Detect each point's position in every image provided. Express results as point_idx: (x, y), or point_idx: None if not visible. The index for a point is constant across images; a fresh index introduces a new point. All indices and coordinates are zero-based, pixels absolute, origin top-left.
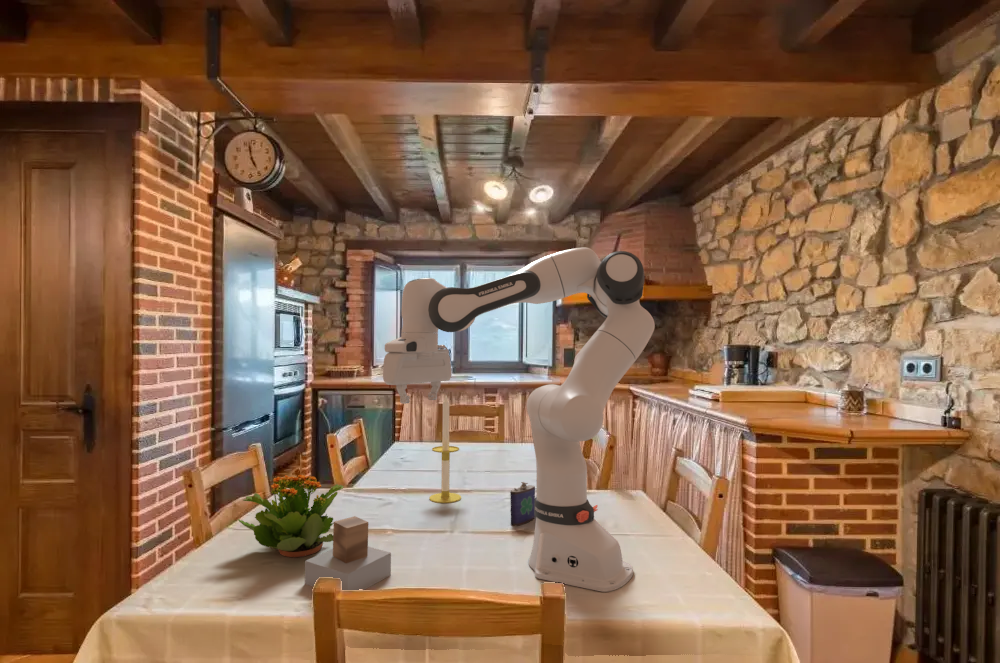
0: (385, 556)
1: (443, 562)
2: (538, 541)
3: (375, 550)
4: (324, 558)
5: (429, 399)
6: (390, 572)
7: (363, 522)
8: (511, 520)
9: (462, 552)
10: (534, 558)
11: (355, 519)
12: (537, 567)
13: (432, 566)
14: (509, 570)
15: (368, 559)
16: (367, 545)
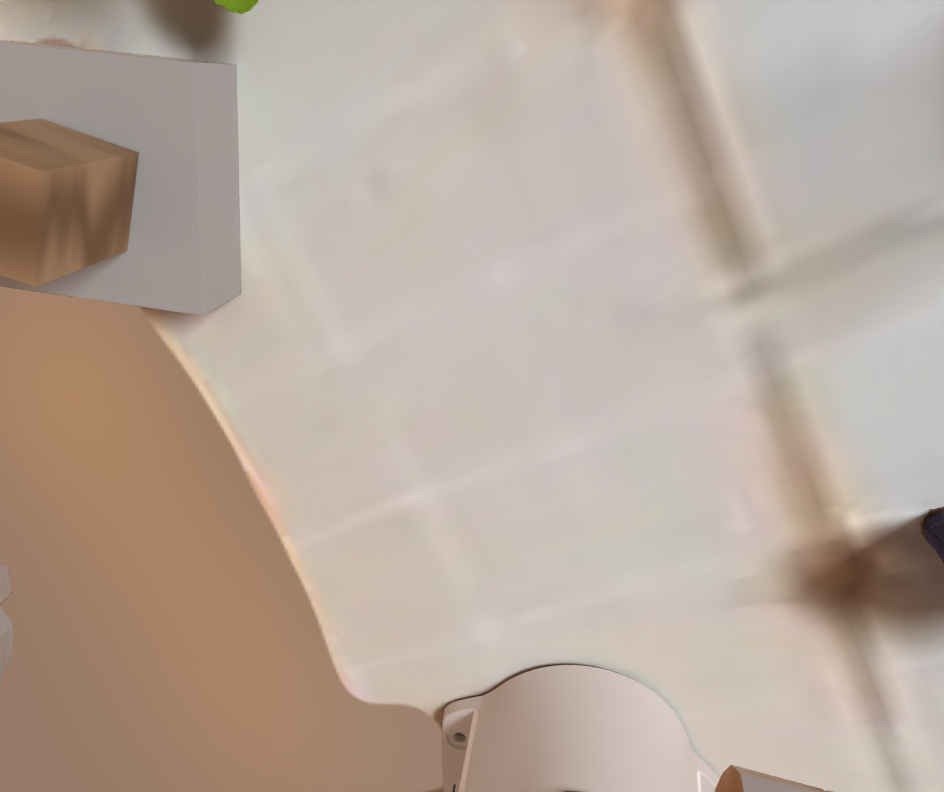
0: (174, 310)
1: (419, 412)
2: (466, 784)
3: (185, 243)
4: (13, 98)
5: (723, 790)
6: (235, 295)
7: (16, 269)
8: (933, 527)
9: (534, 437)
10: (493, 717)
11: (14, 208)
12: (472, 716)
13: (371, 392)
14: (464, 626)
15: (109, 273)
16: (100, 260)
